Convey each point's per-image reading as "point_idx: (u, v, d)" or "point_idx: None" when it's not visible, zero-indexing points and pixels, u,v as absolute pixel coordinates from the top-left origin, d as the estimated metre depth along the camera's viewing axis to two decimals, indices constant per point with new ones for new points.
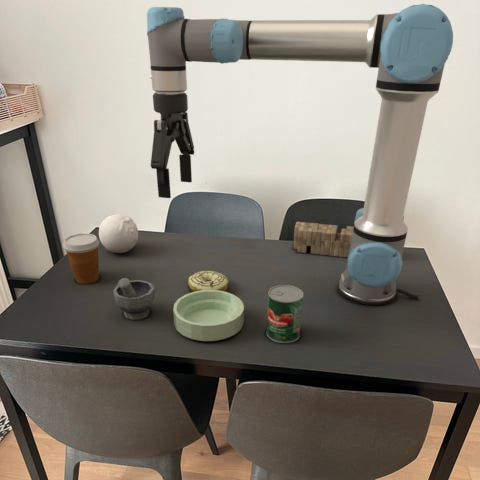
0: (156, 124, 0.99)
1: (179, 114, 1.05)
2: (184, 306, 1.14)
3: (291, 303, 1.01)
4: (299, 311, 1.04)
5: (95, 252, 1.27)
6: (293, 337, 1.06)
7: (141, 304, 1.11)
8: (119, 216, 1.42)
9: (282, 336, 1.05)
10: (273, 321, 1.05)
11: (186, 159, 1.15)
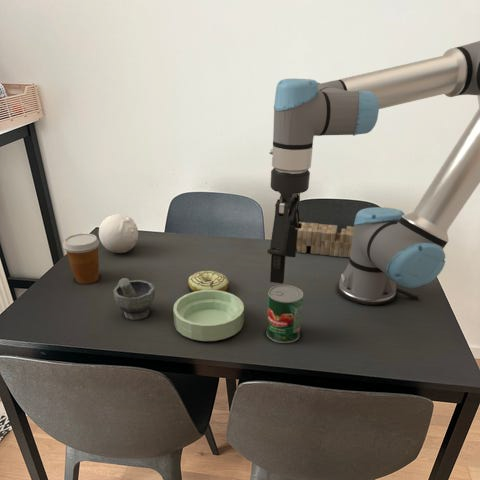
0: (278, 207, 0.87)
1: None
2: (184, 306, 1.14)
3: (291, 303, 1.01)
4: (299, 311, 1.04)
5: (95, 252, 1.27)
6: (293, 337, 1.06)
7: (141, 304, 1.11)
8: (119, 216, 1.42)
9: (282, 336, 1.05)
10: (273, 321, 1.05)
11: (293, 233, 1.03)
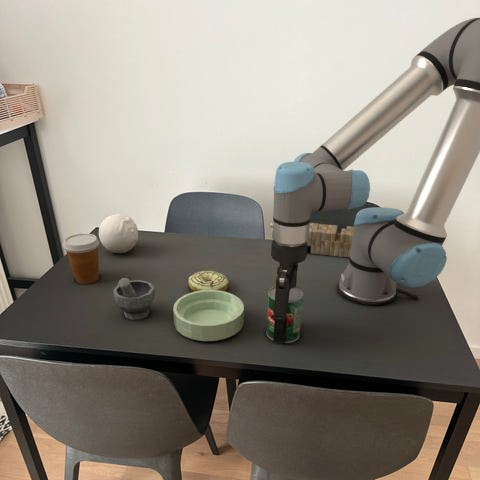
0: (278, 282, 0.95)
1: None
2: (184, 306, 1.14)
3: (291, 303, 1.01)
4: (299, 311, 1.04)
5: (95, 252, 1.27)
6: (292, 337, 1.06)
7: (141, 304, 1.11)
8: (119, 216, 1.42)
9: None
10: (273, 321, 1.05)
11: None
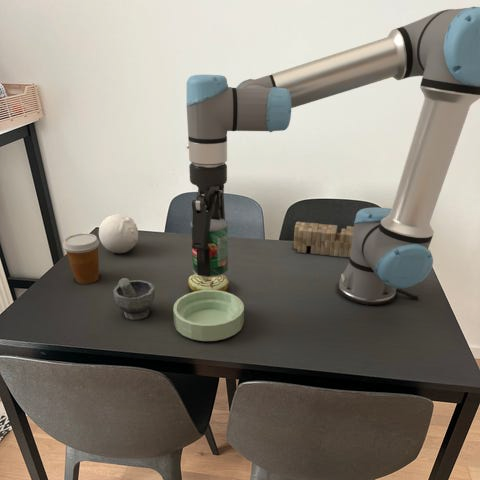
0: (194, 205, 0.91)
1: None
2: (184, 306, 1.14)
3: (213, 232, 0.96)
4: (223, 242, 0.99)
5: (95, 252, 1.27)
6: (218, 270, 1.01)
7: (141, 304, 1.11)
8: (119, 216, 1.42)
9: None
10: (196, 253, 1.00)
11: None
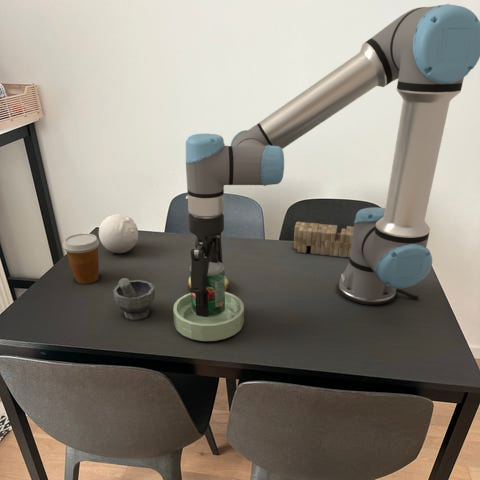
0: (193, 254, 0.96)
1: None
2: (184, 306, 1.14)
3: (210, 277, 1.02)
4: (220, 285, 1.04)
5: (95, 252, 1.27)
6: (215, 311, 1.07)
7: (141, 304, 1.11)
8: (119, 216, 1.42)
9: None
10: None
11: None
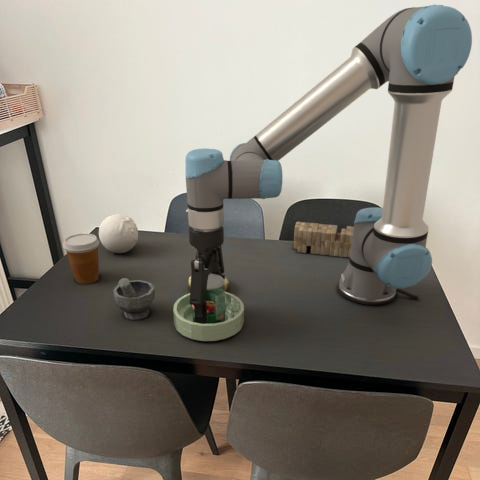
0: (193, 265, 0.97)
1: None
2: (184, 306, 1.14)
3: (211, 291, 1.04)
4: (220, 299, 1.06)
5: (95, 252, 1.27)
6: None
7: (141, 304, 1.11)
8: (119, 216, 1.42)
9: None
10: None
11: None
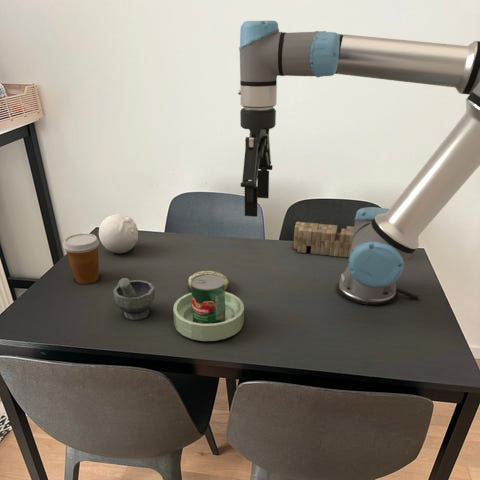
0: (248, 141, 0.95)
1: (264, 129, 1.02)
2: (184, 306, 1.14)
3: (211, 291, 1.04)
4: (220, 299, 1.06)
5: (95, 252, 1.27)
6: None
7: (141, 304, 1.11)
8: (119, 216, 1.42)
9: (205, 323, 1.08)
10: (195, 308, 1.07)
11: (265, 175, 1.11)
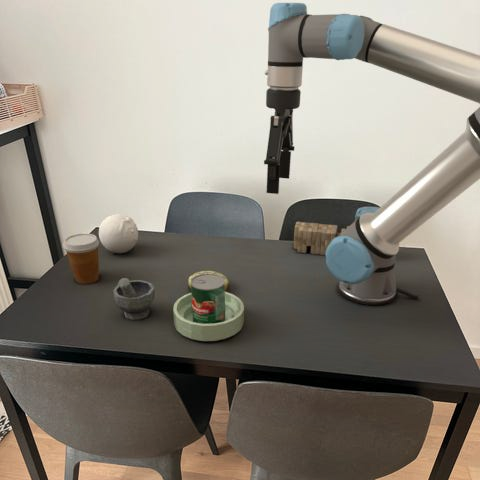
0: (273, 120, 0.99)
1: (289, 110, 1.06)
2: (184, 306, 1.14)
3: (211, 291, 1.04)
4: (220, 299, 1.06)
5: (95, 252, 1.27)
6: None
7: (141, 304, 1.11)
8: (119, 216, 1.42)
9: (205, 323, 1.08)
10: (195, 308, 1.07)
11: (286, 155, 1.15)
